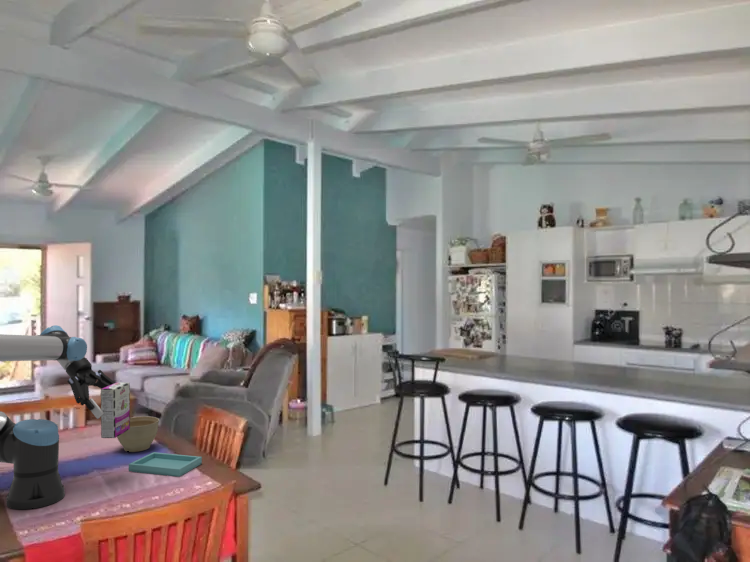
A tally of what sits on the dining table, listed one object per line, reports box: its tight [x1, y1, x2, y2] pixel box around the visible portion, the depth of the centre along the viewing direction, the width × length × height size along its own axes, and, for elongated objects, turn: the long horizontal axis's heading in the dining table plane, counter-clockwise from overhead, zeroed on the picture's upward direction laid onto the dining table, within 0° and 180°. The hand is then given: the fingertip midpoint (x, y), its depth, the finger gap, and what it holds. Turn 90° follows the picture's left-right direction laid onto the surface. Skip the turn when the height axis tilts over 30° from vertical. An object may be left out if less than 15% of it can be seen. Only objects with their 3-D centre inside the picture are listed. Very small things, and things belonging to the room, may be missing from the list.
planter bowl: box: [116, 416, 160, 453], centre depth 222 cm, size 16×16×11 cm
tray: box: [128, 451, 203, 478], centre depth 201 cm, size 14×20×2 cm
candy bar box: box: [100, 381, 131, 439], centre depth 190 cm, size 11×5×16 cm, turn 179°
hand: (113, 411), depth 190 cm, fingers closed on candy bar box, 11 cm apart
